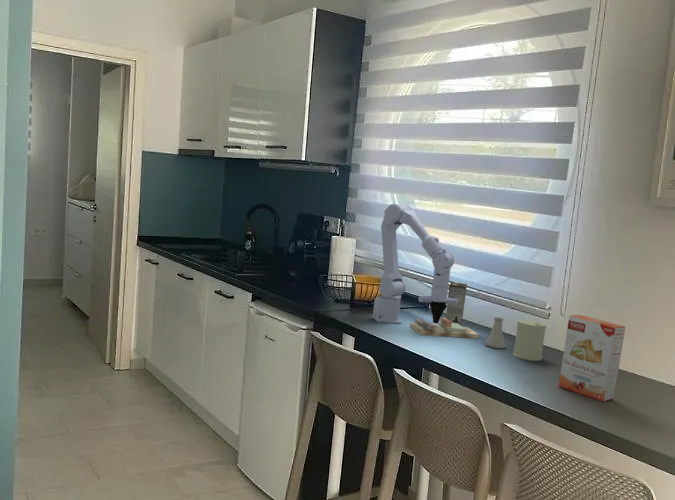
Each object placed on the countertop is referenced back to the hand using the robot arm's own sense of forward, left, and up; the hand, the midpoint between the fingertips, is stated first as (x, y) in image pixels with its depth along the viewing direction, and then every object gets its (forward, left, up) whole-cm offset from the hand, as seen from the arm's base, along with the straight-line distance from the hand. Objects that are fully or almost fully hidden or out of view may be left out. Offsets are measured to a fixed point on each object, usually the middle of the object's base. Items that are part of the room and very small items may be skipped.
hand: (435, 322), depth 251 cm
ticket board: (+4, 0, -3) cm, 5 cm away
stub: (+7, 0, -2) cm, 7 cm away
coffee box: (+13, +14, -4) cm, 19 cm away
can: (+23, -28, -4) cm, 36 cm away
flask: (+17, -16, -4) cm, 23 cm away
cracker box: (+22, -65, -4) cm, 69 cm away
